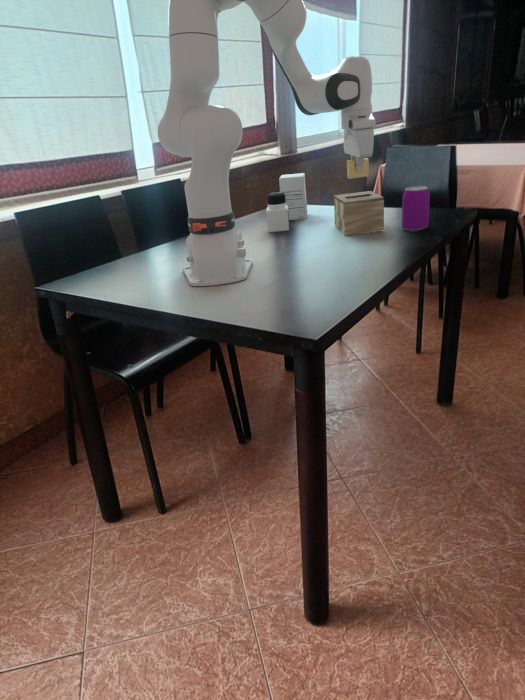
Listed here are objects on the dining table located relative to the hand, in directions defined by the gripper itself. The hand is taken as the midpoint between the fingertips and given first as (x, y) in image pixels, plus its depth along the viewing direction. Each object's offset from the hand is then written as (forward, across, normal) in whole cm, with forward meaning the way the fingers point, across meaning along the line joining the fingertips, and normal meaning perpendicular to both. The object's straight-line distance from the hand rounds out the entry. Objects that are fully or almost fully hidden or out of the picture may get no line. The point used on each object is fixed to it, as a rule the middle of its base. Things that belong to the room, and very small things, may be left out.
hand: (357, 171), depth 149 cm
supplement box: (+18, -30, -16) cm, 38 cm away
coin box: (+17, 0, 0) cm, 17 cm away
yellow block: (+2, 0, 0) cm, 2 cm away
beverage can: (+18, +9, +15) cm, 25 cm away
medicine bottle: (+18, -13, -24) cm, 33 cm away
